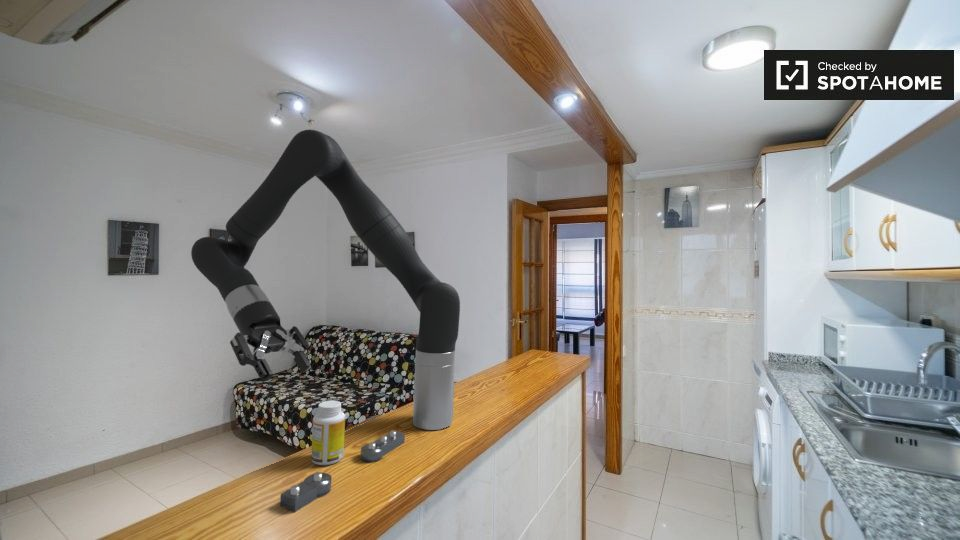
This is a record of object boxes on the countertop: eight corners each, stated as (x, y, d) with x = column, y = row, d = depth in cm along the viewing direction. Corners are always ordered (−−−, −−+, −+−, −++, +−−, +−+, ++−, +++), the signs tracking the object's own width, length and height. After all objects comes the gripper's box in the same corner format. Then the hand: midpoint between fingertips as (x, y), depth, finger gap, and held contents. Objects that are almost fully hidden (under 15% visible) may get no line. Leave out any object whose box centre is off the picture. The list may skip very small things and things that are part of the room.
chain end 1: (317, 481, 64) (318, 465, 64) (336, 488, 62) (337, 471, 62) (277, 505, 57) (278, 487, 57) (297, 513, 55) (298, 494, 55)
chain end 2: (390, 438, 82) (391, 426, 82) (406, 442, 80) (407, 430, 80) (355, 459, 72) (356, 445, 72) (373, 464, 70) (373, 449, 70)
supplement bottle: (346, 452, 75) (349, 399, 75) (338, 466, 69) (341, 409, 69) (316, 452, 74) (319, 398, 74) (306, 467, 69) (309, 408, 69)
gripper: (227, 300, 74) (265, 369, 69) (291, 298, 87) (327, 356, 82) (208, 326, 76) (244, 394, 71) (273, 320, 89) (307, 377, 84)
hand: (288, 373), depth 76 cm, fingers open, 8 cm apart
